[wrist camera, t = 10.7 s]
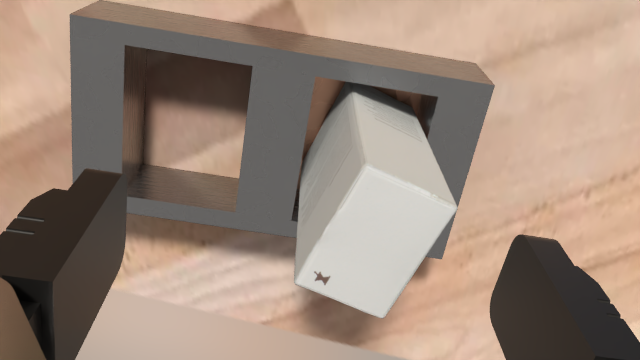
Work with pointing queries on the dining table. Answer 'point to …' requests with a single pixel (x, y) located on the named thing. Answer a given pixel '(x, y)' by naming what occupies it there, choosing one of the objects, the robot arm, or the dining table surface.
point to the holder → (253, 110)
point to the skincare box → (368, 202)
